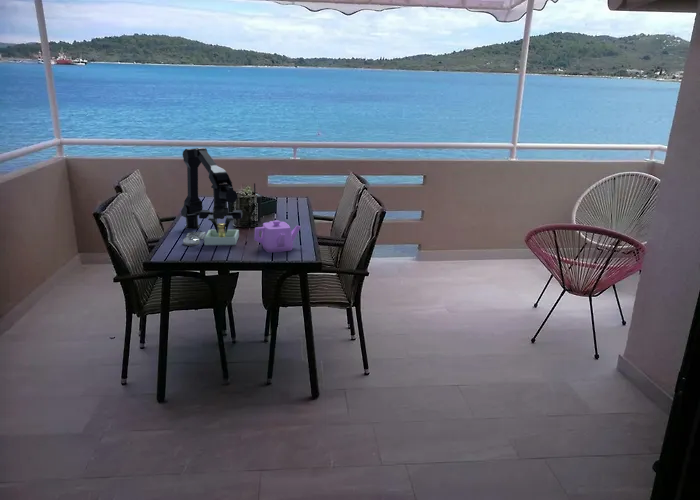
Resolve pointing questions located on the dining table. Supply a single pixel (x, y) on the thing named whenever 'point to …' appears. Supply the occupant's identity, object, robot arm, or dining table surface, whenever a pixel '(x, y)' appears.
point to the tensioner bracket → (193, 238)
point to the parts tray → (221, 238)
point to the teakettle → (276, 236)
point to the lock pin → (221, 229)
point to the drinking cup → (259, 199)
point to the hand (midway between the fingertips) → (221, 232)
